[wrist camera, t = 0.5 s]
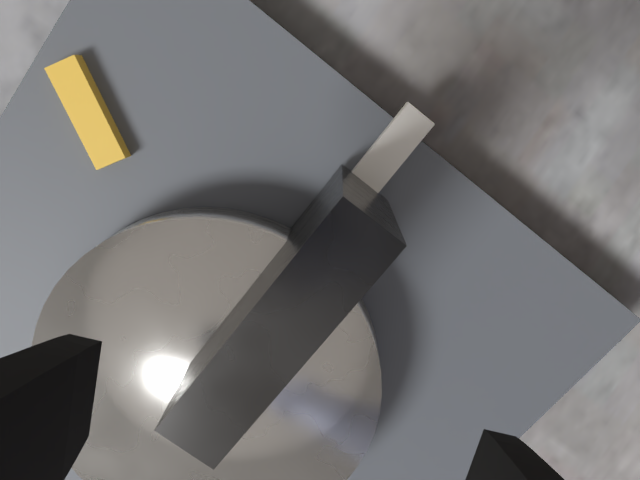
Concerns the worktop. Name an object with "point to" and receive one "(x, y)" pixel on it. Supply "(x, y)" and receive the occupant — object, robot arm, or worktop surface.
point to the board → (292, 211)
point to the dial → (232, 340)
